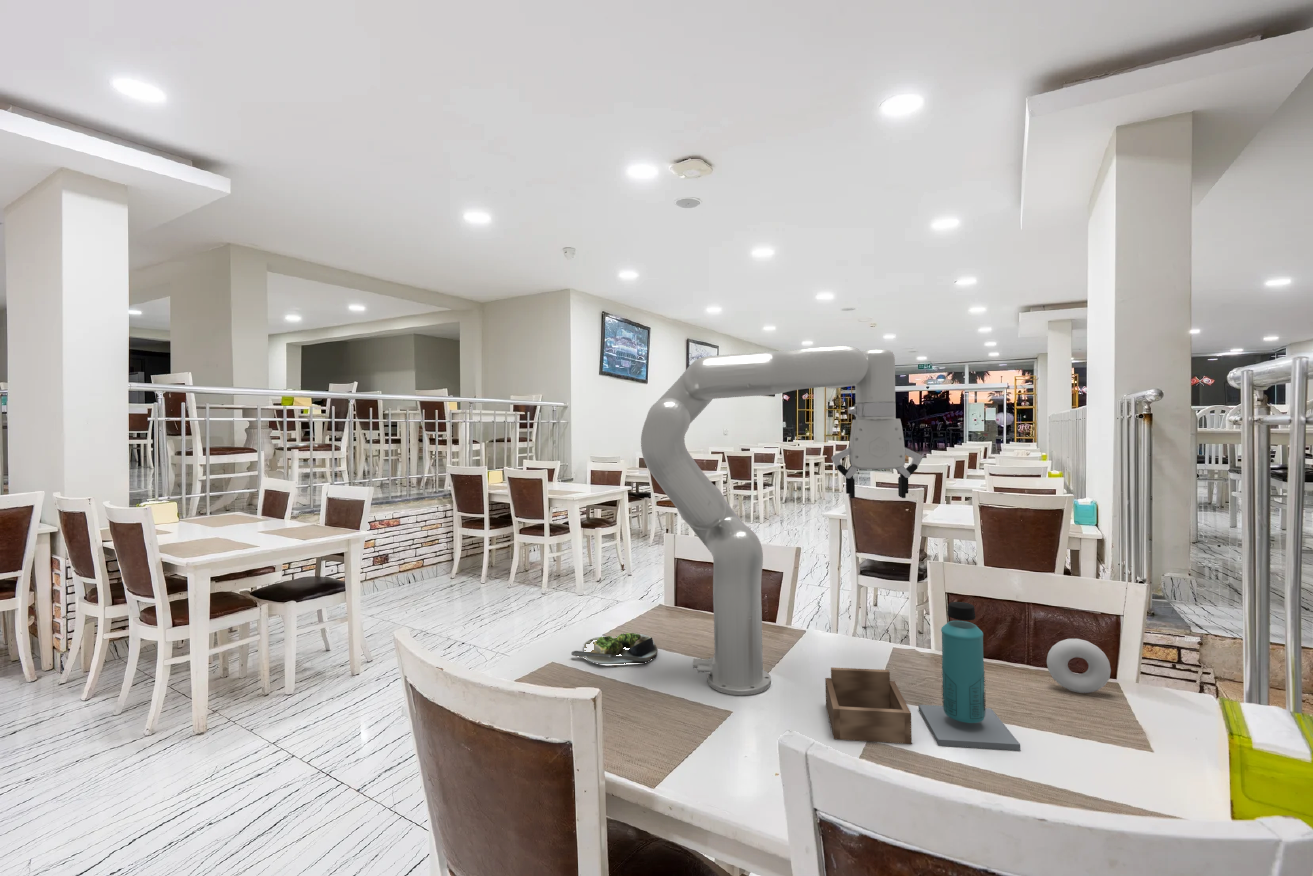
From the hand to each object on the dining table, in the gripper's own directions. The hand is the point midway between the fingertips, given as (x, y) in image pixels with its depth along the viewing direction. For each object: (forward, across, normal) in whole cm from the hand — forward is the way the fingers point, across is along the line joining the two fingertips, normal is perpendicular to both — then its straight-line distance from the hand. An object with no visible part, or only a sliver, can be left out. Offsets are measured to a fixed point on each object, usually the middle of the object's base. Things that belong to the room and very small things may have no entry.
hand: (876, 497), depth 121 cm
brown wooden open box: (+36, -6, -20) cm, 42 cm away
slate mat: (+36, +10, -20) cm, 43 cm away
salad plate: (+37, -55, +6) cm, 66 cm away
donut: (+36, +35, -3) cm, 51 cm away
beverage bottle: (+36, +10, -20) cm, 42 cm away
